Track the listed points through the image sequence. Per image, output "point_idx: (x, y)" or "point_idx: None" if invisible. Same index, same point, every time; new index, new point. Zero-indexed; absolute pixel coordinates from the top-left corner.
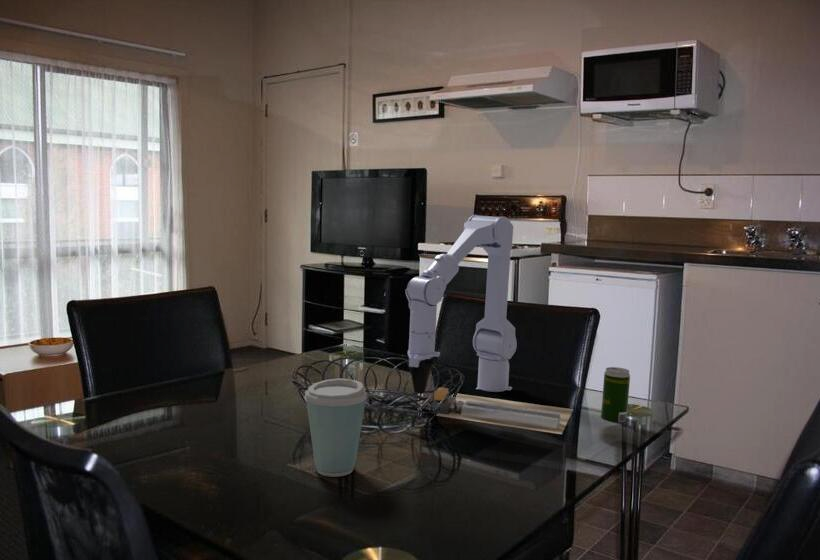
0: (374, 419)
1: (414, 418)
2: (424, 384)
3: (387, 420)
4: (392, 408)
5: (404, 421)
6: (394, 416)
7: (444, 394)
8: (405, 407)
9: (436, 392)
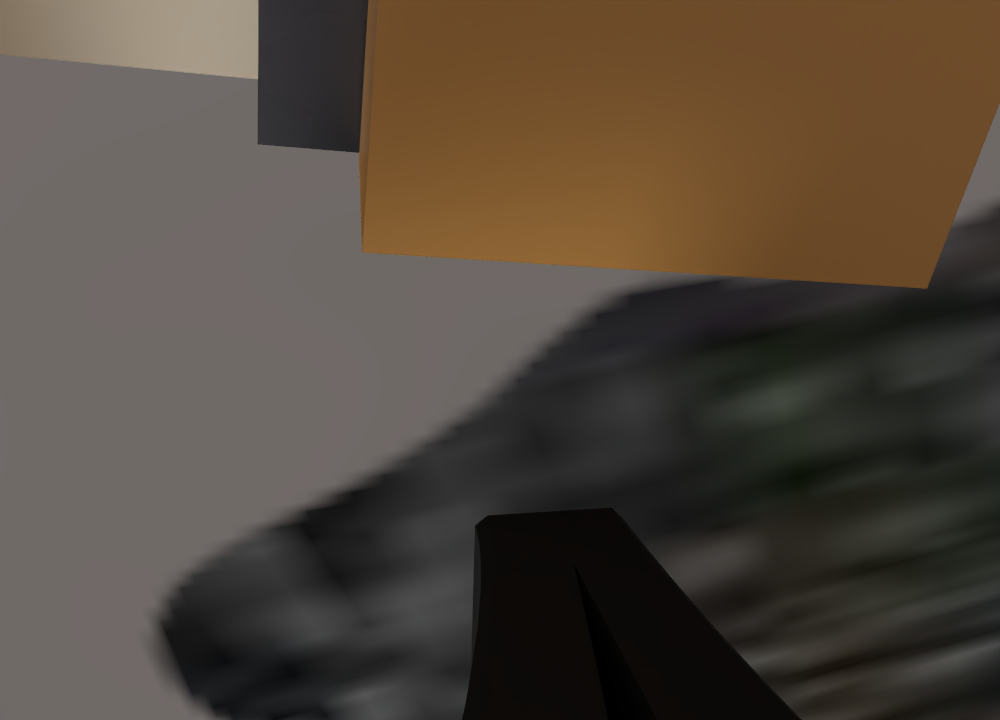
0: (932, 678)
1: (825, 331)
2: (726, 661)
3: (954, 572)
4: (459, 667)
5: (975, 407)
6: (786, 558)
7: None
8: (341, 565)
9: (938, 219)
